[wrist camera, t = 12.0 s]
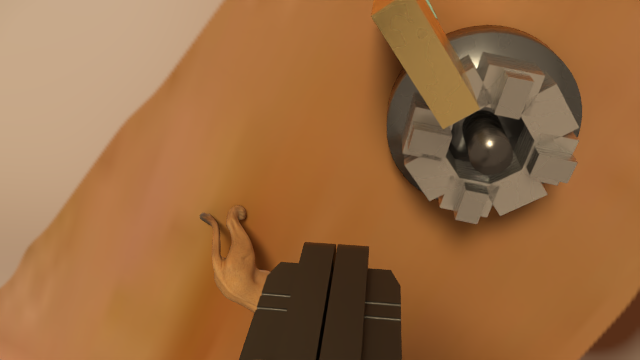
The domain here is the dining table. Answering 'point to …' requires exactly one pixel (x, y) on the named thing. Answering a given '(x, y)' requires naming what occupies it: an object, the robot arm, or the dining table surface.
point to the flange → (484, 126)
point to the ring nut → (465, 99)
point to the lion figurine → (236, 262)
